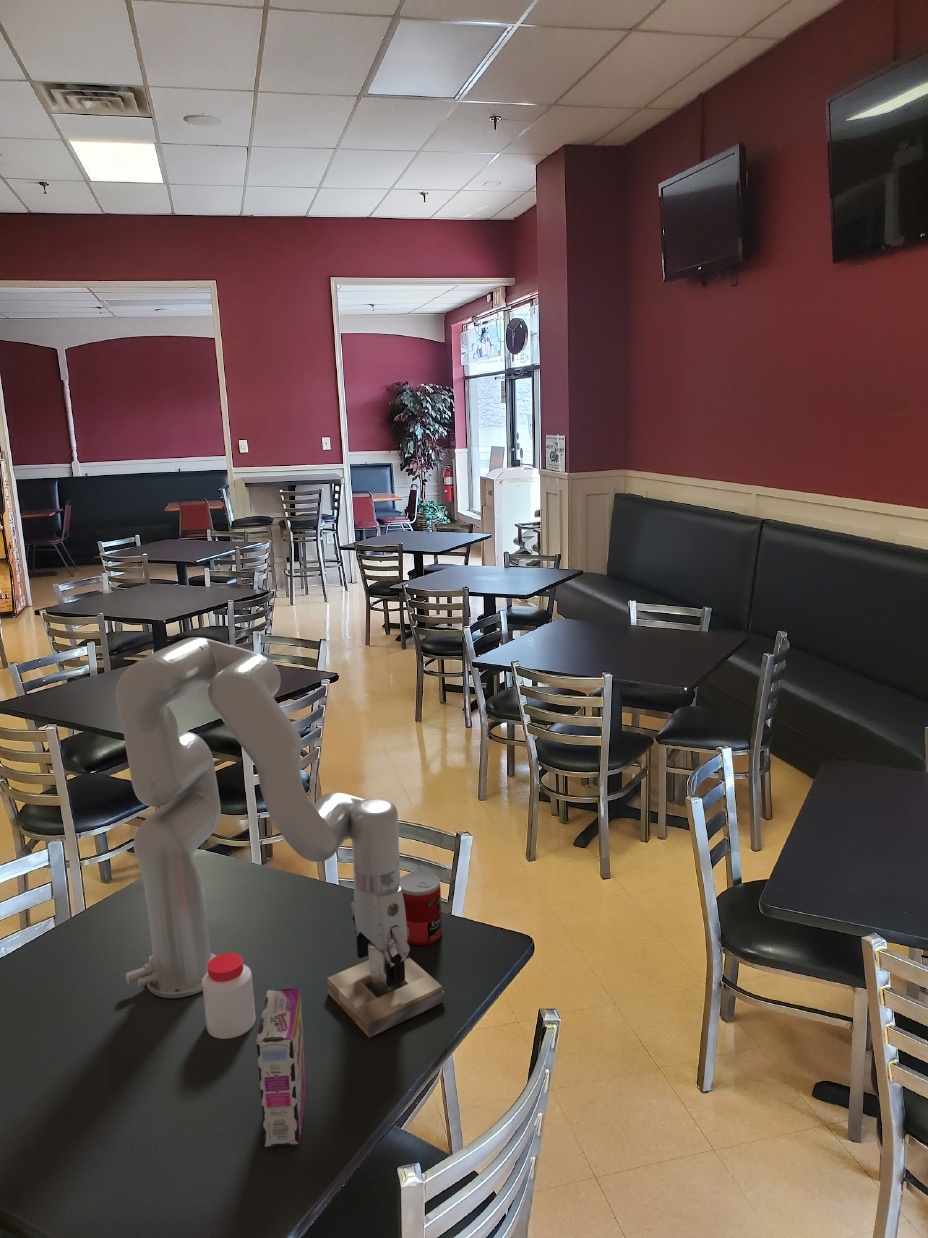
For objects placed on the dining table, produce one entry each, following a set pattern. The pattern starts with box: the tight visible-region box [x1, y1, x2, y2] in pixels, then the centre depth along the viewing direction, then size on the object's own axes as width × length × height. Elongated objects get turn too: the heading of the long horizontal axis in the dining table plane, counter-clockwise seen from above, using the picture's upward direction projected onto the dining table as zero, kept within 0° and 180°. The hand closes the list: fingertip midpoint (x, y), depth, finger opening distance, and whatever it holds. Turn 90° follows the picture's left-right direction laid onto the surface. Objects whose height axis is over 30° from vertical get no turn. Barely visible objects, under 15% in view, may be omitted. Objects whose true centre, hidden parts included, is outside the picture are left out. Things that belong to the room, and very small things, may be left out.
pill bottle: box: [202, 952, 257, 1040], centre depth 142 cm, size 8×8×11 cm
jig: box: [327, 948, 446, 1038], centre depth 147 cm, size 14×15×3 cm
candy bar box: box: [255, 987, 308, 1148], centre depth 121 cm, size 11×5×16 cm, turn 5°
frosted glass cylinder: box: [368, 939, 398, 998], centre depth 147 cm, size 4×4×10 cm
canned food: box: [399, 871, 443, 946], centre depth 165 cm, size 8×8×11 cm
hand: (380, 969), depth 147 cm, fingers open, 9 cm apart
